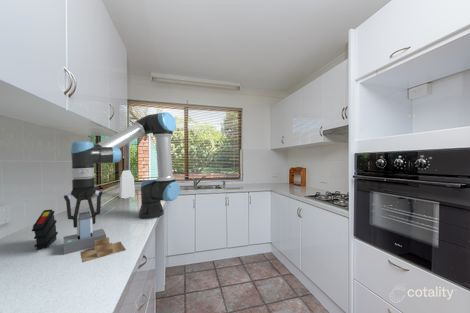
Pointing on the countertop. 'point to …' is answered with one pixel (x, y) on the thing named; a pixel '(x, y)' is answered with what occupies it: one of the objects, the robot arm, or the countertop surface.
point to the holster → (101, 249)
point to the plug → (84, 225)
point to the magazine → (45, 229)
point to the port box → (81, 241)
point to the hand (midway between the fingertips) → (84, 233)
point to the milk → (126, 185)
